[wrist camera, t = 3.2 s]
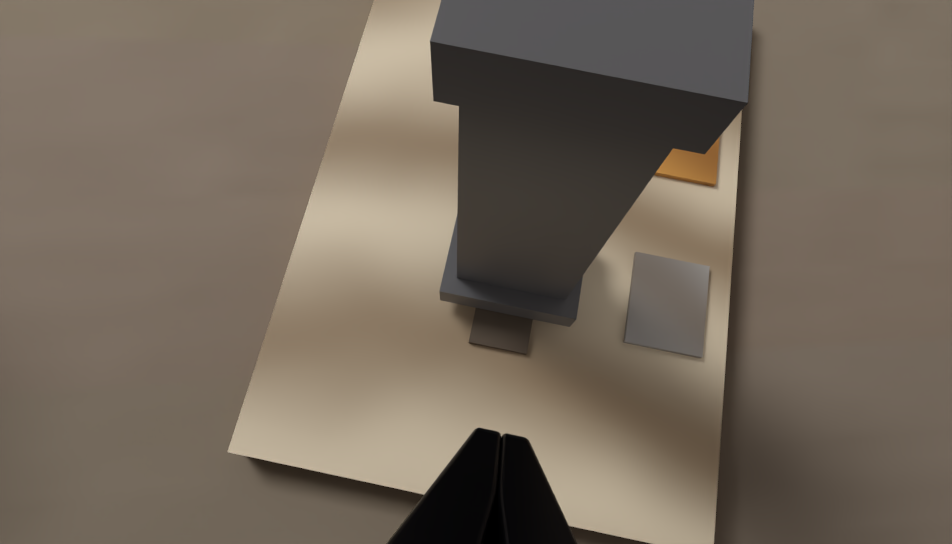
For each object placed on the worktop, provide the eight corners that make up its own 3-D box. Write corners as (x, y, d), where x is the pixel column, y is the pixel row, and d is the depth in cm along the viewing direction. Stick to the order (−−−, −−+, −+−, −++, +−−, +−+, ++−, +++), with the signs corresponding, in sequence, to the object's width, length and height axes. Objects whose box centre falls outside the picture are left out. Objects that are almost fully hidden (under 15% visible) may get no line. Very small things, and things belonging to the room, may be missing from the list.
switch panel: (695, 549, 17) (756, 573, 14) (242, 452, 17) (190, 451, 14) (734, 19, 23) (783, -57, 20) (399, -44, 24) (390, -129, 20)
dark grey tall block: (569, 326, 17) (755, 118, 7) (440, 300, 17) (417, 52, 7) (583, 236, 18) (766, -74, 8) (460, 211, 18) (470, -129, 8)
